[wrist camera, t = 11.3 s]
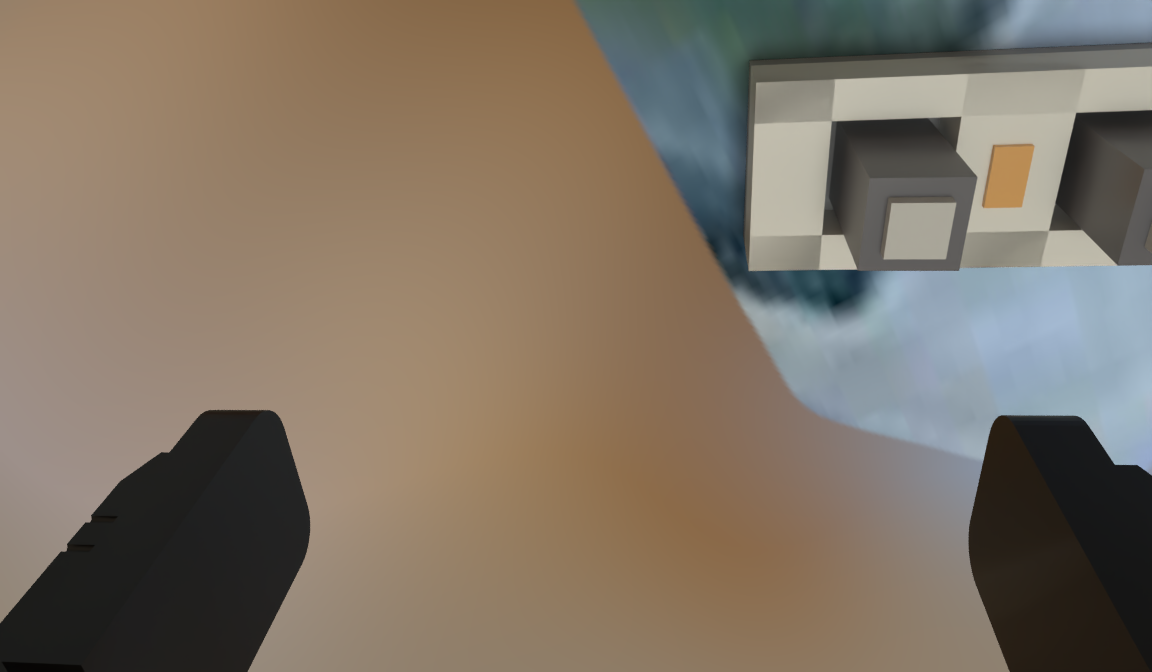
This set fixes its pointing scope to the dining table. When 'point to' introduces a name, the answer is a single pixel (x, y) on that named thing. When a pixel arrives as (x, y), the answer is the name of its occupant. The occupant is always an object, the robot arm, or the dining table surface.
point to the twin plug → (1111, 182)
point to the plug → (900, 195)
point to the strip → (966, 120)
